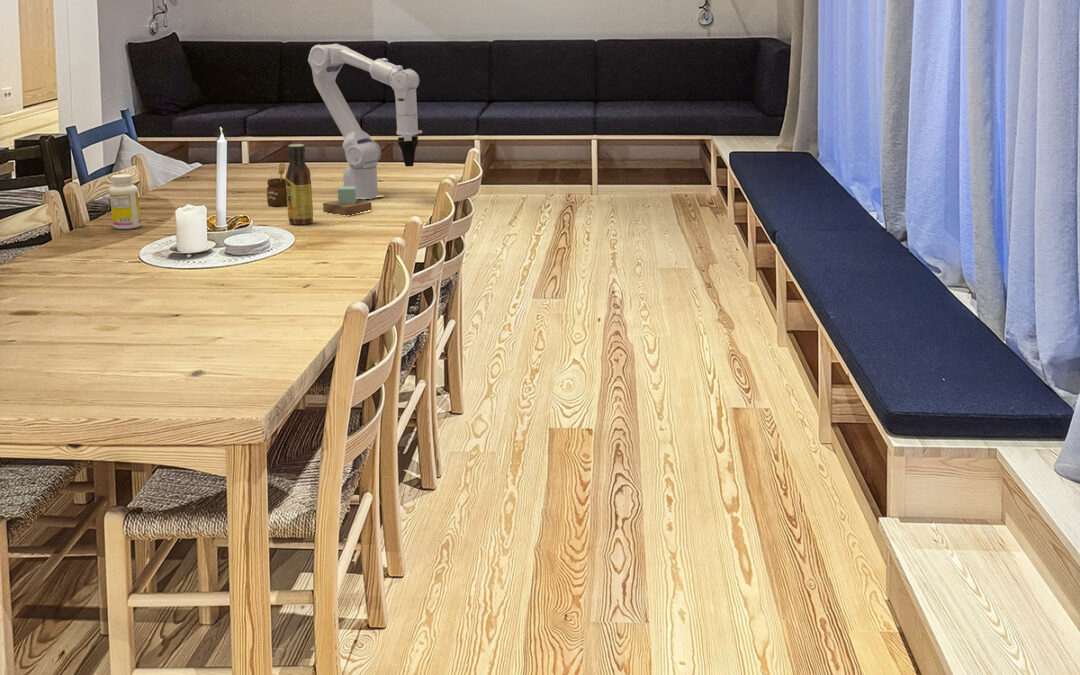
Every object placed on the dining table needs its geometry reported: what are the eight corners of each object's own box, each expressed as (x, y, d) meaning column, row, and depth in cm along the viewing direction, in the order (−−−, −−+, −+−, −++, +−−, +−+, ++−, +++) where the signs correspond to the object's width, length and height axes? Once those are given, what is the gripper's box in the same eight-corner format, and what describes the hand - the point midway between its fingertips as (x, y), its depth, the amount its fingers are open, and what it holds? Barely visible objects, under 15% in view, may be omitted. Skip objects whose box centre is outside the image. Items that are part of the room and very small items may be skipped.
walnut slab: (323, 214, 296) (323, 203, 295) (348, 209, 303) (348, 198, 302) (346, 218, 290) (346, 207, 290) (371, 213, 297) (371, 202, 296)
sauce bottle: (290, 220, 284) (285, 142, 278) (314, 220, 285) (310, 142, 279) (286, 226, 278) (281, 146, 272) (312, 225, 279) (307, 146, 273)
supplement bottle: (130, 223, 280) (125, 172, 277) (147, 226, 277) (142, 175, 273) (107, 227, 275) (101, 175, 271) (124, 230, 272) (118, 178, 268)
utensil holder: (281, 202, 309) (279, 159, 306) (294, 205, 305) (291, 161, 302) (263, 205, 305) (260, 161, 302) (275, 208, 301) (272, 163, 298)
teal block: (338, 204, 293) (337, 189, 292) (339, 201, 298) (338, 186, 296) (355, 204, 294) (355, 189, 293) (356, 201, 298) (355, 186, 297)
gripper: (421, 116, 298) (424, 167, 302) (421, 112, 312) (423, 160, 316) (395, 117, 297) (398, 168, 301) (395, 112, 311) (398, 161, 315)
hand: (409, 164), depth 308 cm, fingers open, 7 cm apart
